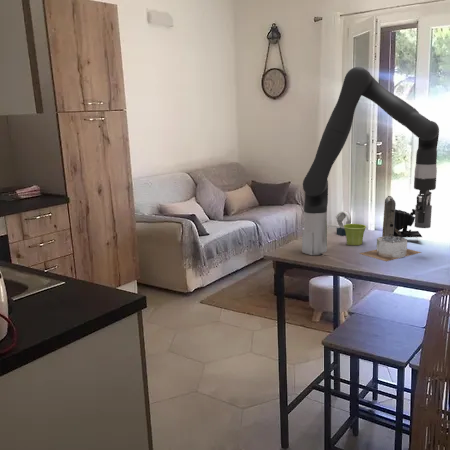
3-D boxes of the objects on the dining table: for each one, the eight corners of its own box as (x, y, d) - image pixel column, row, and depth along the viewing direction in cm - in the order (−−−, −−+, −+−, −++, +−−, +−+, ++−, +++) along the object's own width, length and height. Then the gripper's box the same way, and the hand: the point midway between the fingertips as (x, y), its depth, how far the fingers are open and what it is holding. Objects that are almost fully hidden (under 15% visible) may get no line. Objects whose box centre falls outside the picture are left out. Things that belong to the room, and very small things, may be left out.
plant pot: (365, 243, 218) (365, 223, 216) (366, 248, 209) (366, 228, 207) (343, 242, 220) (343, 223, 218) (343, 248, 211) (343, 228, 209)
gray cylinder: (423, 228, 183) (425, 207, 182) (411, 226, 188) (412, 205, 187) (433, 226, 186) (435, 205, 185) (421, 224, 191) (422, 203, 189)
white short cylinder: (392, 259, 189) (393, 244, 187) (371, 253, 198) (371, 238, 196) (412, 254, 194) (412, 239, 193) (390, 249, 203) (390, 234, 202)
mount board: (386, 263, 187) (386, 261, 187) (358, 255, 199) (358, 253, 199) (421, 254, 197) (422, 252, 196) (393, 247, 209) (393, 245, 208)
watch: (343, 232, 240) (343, 209, 237) (354, 235, 232) (354, 212, 230) (333, 233, 237) (334, 210, 235) (344, 236, 230) (344, 213, 228)
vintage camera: (422, 246, 211) (425, 199, 207) (383, 244, 214) (387, 198, 210) (418, 241, 220) (421, 196, 216) (381, 239, 223) (384, 195, 219)
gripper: (418, 173, 191) (416, 217, 195) (410, 178, 179) (407, 224, 183) (439, 174, 187) (437, 218, 191) (432, 179, 175) (429, 226, 179)
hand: (422, 221), depth 187 cm, fingers closed on gray cylinder, 5 cm apart
